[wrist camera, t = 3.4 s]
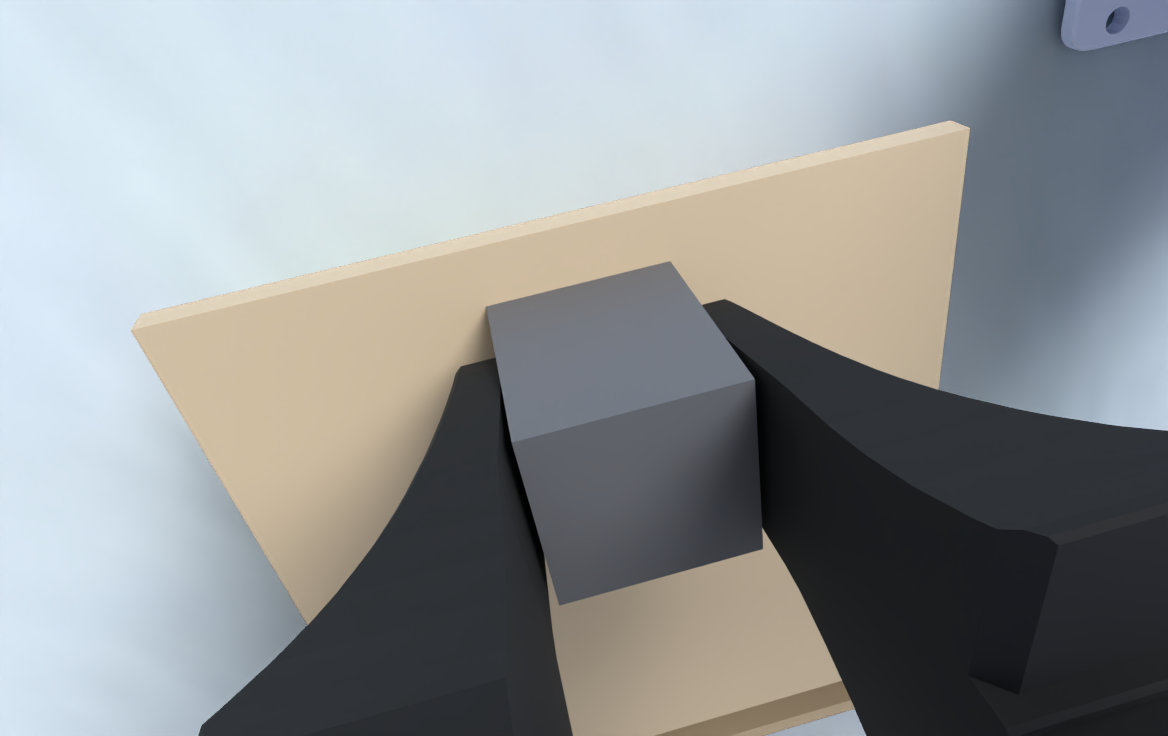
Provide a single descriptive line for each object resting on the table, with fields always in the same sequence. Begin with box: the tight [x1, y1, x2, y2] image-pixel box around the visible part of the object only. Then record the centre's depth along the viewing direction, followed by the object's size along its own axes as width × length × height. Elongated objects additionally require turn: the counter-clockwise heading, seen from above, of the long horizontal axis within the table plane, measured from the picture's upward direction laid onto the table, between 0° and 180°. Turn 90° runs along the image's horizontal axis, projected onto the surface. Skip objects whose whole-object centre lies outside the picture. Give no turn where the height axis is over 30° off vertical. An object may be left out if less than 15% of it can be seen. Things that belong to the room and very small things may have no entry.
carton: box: [655, 681, 855, 736], centre depth 19 cm, size 13×14×4 cm
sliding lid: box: [131, 120, 970, 736], centre depth 14 cm, size 13×14×4 cm
